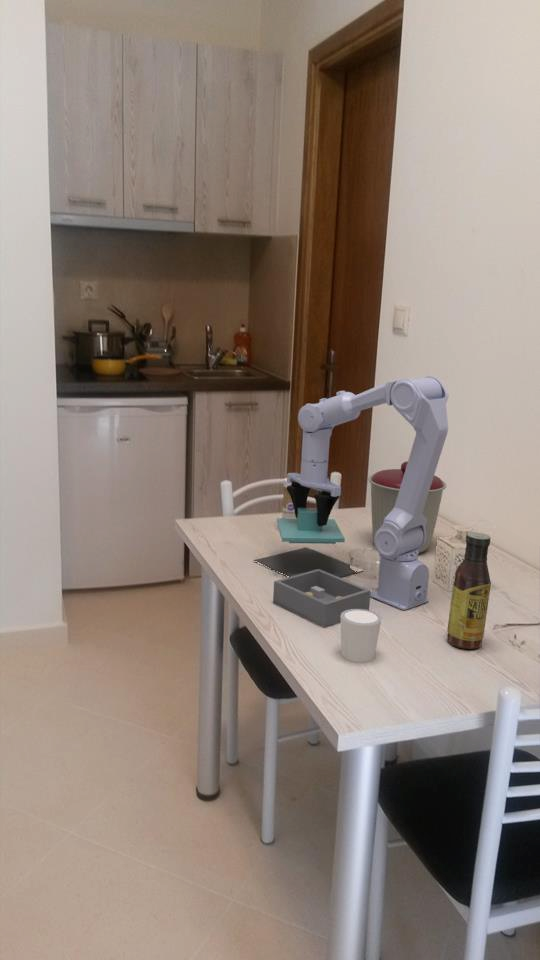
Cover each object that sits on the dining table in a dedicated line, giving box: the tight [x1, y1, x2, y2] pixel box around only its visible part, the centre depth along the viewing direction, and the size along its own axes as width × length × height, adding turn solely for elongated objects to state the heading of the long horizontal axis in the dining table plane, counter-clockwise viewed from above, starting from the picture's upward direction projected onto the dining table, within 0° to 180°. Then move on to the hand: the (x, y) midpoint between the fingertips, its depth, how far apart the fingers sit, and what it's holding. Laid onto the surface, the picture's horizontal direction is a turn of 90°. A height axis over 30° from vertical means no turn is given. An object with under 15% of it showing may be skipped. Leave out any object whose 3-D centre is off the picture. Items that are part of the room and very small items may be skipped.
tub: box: [272, 569, 372, 629], centre depth 154 cm, size 14×12×4 cm
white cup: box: [340, 609, 383, 664], centre depth 134 cm, size 7×7×7 cm
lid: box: [276, 507, 346, 545], centre depth 173 cm, size 15×13×6 cm
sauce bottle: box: [446, 531, 492, 650], centre depth 139 cm, size 6×6×20 cm
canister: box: [367, 460, 447, 554], centre depth 190 cm, size 18×18×21 cm
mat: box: [253, 547, 357, 579], centre depth 176 cm, size 18×16×1 cm
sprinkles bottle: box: [281, 477, 297, 519], centre depth 199 cm, size 5×5×14 cm
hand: (310, 521), depth 173 cm, fingers closed on lid, 6 cm apart
